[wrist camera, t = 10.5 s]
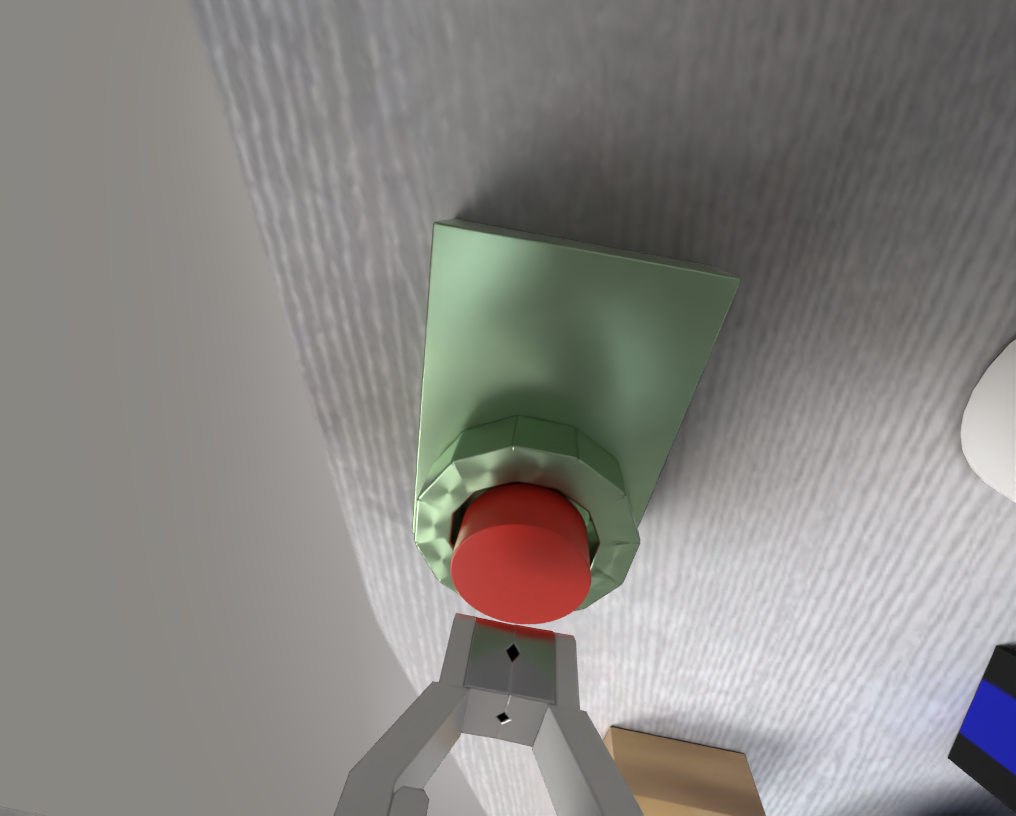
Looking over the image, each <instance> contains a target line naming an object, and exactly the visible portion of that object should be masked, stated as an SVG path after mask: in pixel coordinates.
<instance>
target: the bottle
mask: <svg viewBox="0 0 1016 816" xmlns="http://www.w3.org/2000/svg"><path fill="white" fill-rule="evenodd" d="M960 434H961V442H962V450H963V453H964V455H965V457H966V459H967V461H968V463H969V465H970V467H971V468H972V470H973V471H974V472H975V473H976V474H977V475H978V476H979V477H980V478H981V479H982V480H983V481H984V482H985V483H986V484H988V485H989V486H991V487H992V488H993V489H995V490H996V491H998V492H999V493H1001V494H1003V495H1004V496H1006V497H1007V498H1009V499H1010V500H1012V501H1013V502H1015V503H1016V339H1015V340H1014V341H1012V342H1011V343H1010V344H1009V345H1008V346H1007V347H1006V348H1005V349H1004V350H1003V352H1002V353H1001V354H1000V355H999V356H998V357H997V358H996V359H995V360H994V362H993V363H992V364H991V365H990V366H989V367H988V368H987V370H986V372H985V373H984V375H983V376H982V378H981V379H980V381H979V382H978V384H977V385H976V387H975V388H974V390H973V392H972V394H971V397H970V399H969V401H968V404H967V406H966V409H965V411H964V415H963V421H962V426H961V432H960Z"/></svg>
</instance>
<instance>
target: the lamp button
mask: <svg viewBox="0 0 1016 816" xmlns="http://www.w3.org/2000/svg"><path fill="white" fill-rule="evenodd" d="M450 572H451V578H452V581H453V584H454V586H455V588H456V590H457V591H458V593H459V594H460V595H461V597H462V598H463V599H464V600H465V601H466V602H467V603H468V604H470V605H471V606H472V607H474V608H475V609H476V610H478V611H480V612H481V613H483V614H485V615H487V616H490V617H492V618H495V619H498V620H501V621H505V622H510V623H516V624H540V623H546V622H551V621H554V620H557V619H560V618H562V617H564V616H566V615H568V614H570V613H571V612H573V611H574V610H575V609H577V608H578V607H579V606H580V605H581V604H582V602H583V601H584V600H585V598H586V596H587V594H588V592H589V590H590V586H591V569H590V558H589V548H588V537H587V528H586V525H585V521H584V519H583V517H582V515H581V514H580V512H579V511H578V510H577V508H576V507H575V506H574V505H573V504H572V503H571V502H570V501H568V500H567V499H566V498H565V497H563V496H561V495H560V494H558V493H556V492H554V491H552V490H549V489H547V488H544V487H540V486H536V485H529V484H509V485H504V486H500V487H496V488H493V489H491V490H489V491H486V492H485V493H483V494H482V495H480V496H479V497H478V498H476V499H475V500H474V501H473V502H472V503H471V504H470V506H469V507H468V509H467V510H466V512H465V515H464V517H463V520H462V524H461V527H460V531H459V534H458V538H457V541H456V545H455V548H454V551H453V555H452V559H451V563H450Z"/></svg>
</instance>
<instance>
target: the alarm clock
mask: <svg viewBox="0 0 1016 816" xmlns="http://www.w3.org/2000/svg"><path fill="white" fill-rule="evenodd" d="M948 759H950V760H951V761H952V762H953V763H955V764H956V765H957V766H958V767H959V768H961V769H962V770H963V771H964V772H966V773H967V774H968V775H969V776H970V777H972V778H973V779H974V780H975V781H977V782H978V783H979V784H980V785H981V786H983V787H984V788H985V789H986V790H988V791H989V792H990V793H991V794H992V795H994V796H995V797H996V798H997V799H999V800H1000V801H1001V802H1002V803H1003V804H1005V805H1006V806H1007V807H1008V808H1010V809H1011V810H1012V811H1013V812H1014V813H1016V650H1011V649H1007V648H1003V647H998V646H996V649H995V651H994V653H993V656H992V658H991V660H990V662H989V665H988V667H987V669H986V672H985V674H984V676H983V678H982V681H981V683H980V685H979V688H978V690H977V692H976V694H975V697H974V699H973V701H972V704H971V706H970V708H969V710H968V713H967V715H966V717H965V720H964V722H963V724H962V726H961V729H960V731H959V733H958V736H957V738H956V740H955V742H954V745H953V747H952V749H951V752H950V754H949V756H948Z"/></svg>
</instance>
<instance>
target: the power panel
mask: <svg viewBox="0 0 1016 816" xmlns="http://www.w3.org/2000/svg"><path fill="white" fill-rule="evenodd" d="M603 742H604V744H605V746H606V748H607V749H608V751H609V753H610V755H611V757H612V758H613V760H614V762H615V764H616V765H617V767H618V769H619V771H620V772H621V774H622V776H623V778H624V780H625V781H626V783H627V785H628V787H629V788H630V790H631V792H632V794H633V796H634V797H635V799H636V801H637V803H638V804H639V806H640V808H641V810H642V812H643V813H644V815H645V816H766V815H765V812H764V809H763V806H762V803H761V800H760V797H759V794H758V791H757V788H756V785H755V782H754V780H753V777H752V774H751V771H750V768H749V765H748V762H747V759H746V756H745V755H744V754H741V753H736V752H731V751H726V750H721V749H716V748H711V747H706V746H702V745H697V744H692V743H687V742H682V741H677V740H672V739H668V738H663V737H658V736H653V735H648V734H643V733H638V732H634V731H629V730H624V729H619V728H614V727H610V729H609V731H608V733H607V735H606V736H605V738H604V740H603Z"/></svg>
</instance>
